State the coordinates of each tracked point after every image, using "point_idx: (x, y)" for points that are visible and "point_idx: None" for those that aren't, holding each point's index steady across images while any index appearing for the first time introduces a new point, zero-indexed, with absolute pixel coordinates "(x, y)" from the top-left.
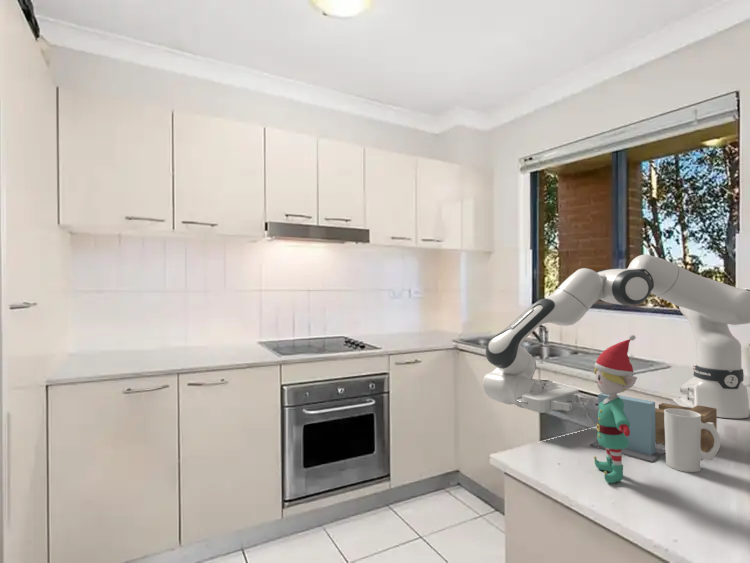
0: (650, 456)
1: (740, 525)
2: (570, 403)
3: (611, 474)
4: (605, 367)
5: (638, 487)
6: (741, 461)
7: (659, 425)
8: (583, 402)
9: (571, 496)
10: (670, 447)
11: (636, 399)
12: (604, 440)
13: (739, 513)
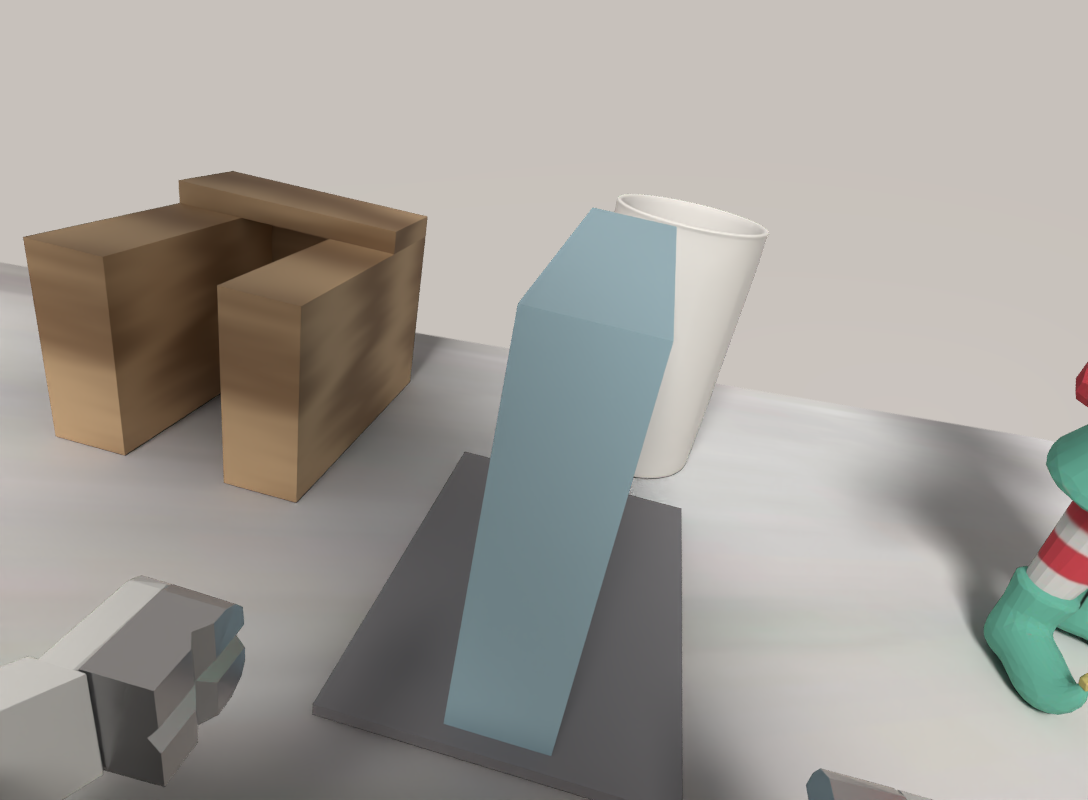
0: (624, 508)
1: (931, 422)
2: (833, 780)
3: None
4: None
5: (1007, 567)
6: (427, 336)
7: (331, 371)
8: (193, 699)
9: None
10: (706, 393)
11: (614, 234)
12: None
13: (865, 411)
